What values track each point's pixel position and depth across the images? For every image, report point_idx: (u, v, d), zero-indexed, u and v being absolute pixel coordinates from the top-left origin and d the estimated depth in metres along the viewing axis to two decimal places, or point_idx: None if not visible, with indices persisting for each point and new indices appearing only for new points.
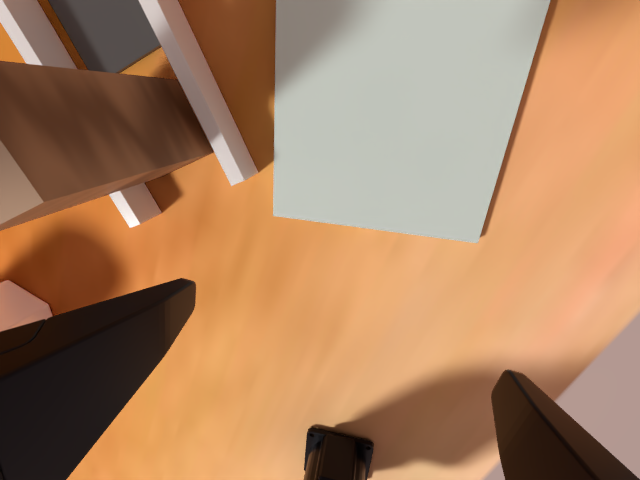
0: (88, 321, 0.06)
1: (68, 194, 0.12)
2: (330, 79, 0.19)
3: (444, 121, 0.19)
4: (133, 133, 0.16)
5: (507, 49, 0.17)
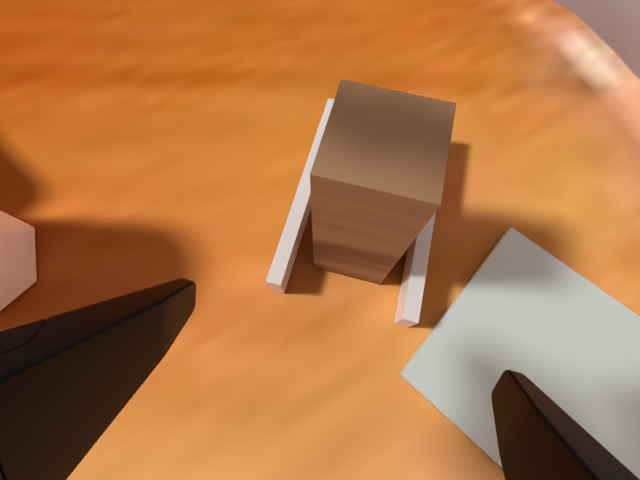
0: (88, 321, 0.06)
1: (430, 216, 0.13)
2: (518, 305, 0.22)
3: (601, 401, 0.20)
4: None
5: None
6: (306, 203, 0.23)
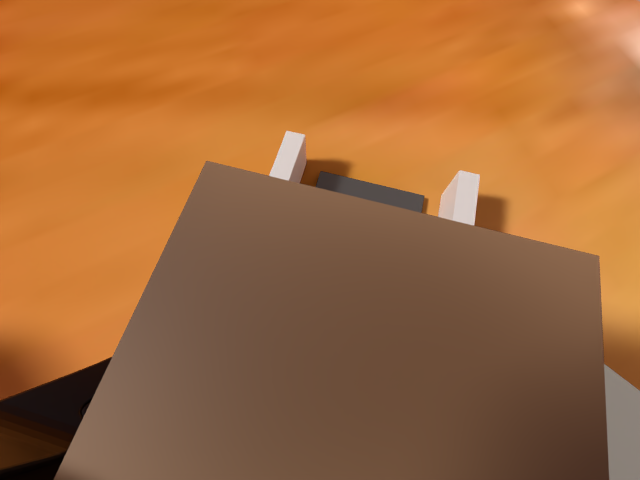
0: None
1: None
2: None
3: None
4: None
5: None
6: None
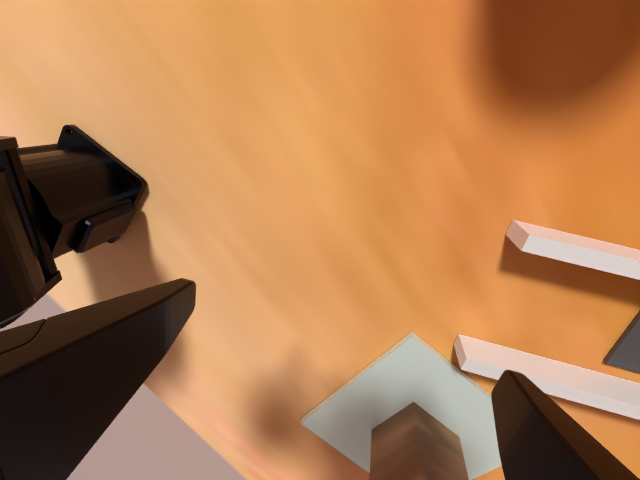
0: (88, 321, 0.06)
1: None
2: (465, 427, 0.26)
3: None
4: None
5: None
6: (639, 278, 0.17)
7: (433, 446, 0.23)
